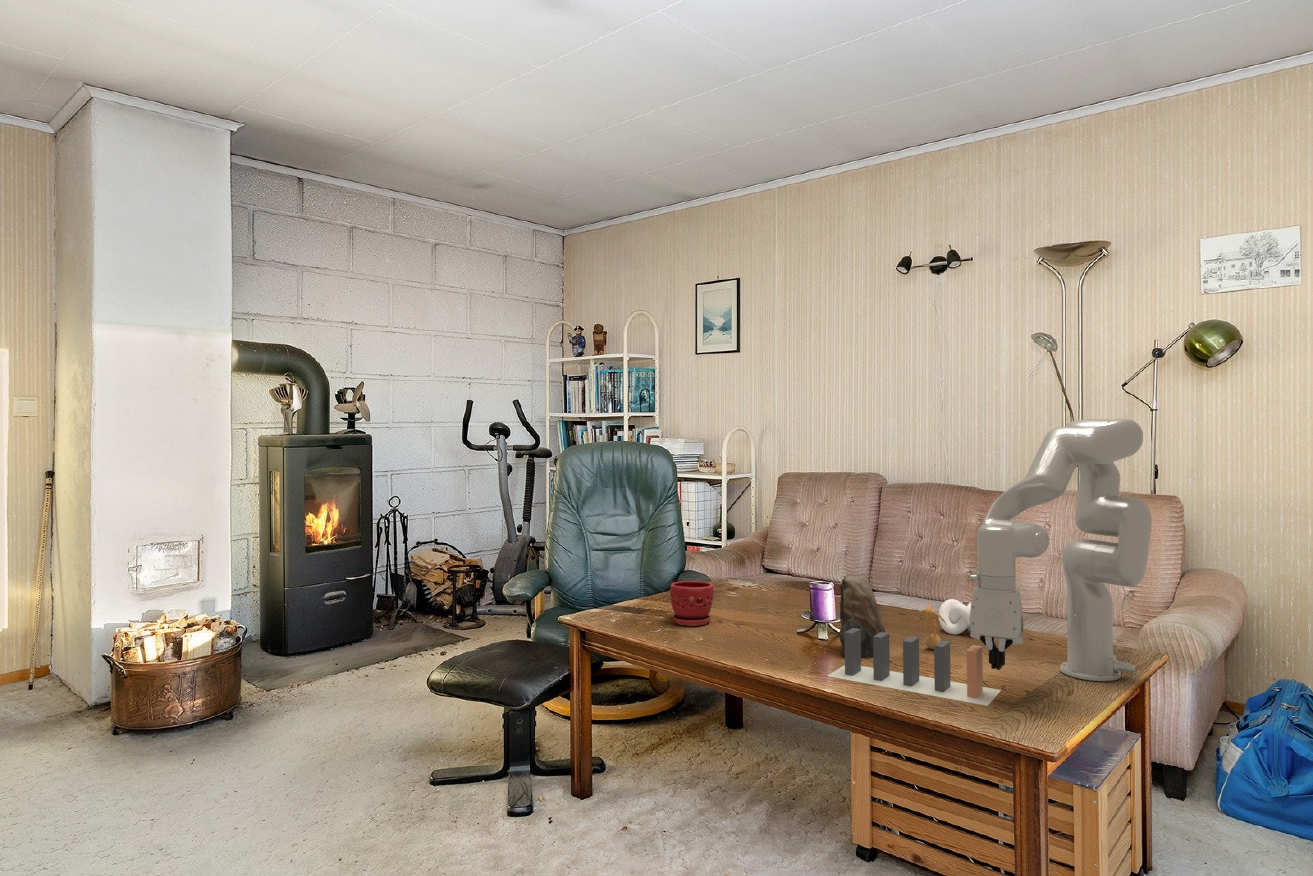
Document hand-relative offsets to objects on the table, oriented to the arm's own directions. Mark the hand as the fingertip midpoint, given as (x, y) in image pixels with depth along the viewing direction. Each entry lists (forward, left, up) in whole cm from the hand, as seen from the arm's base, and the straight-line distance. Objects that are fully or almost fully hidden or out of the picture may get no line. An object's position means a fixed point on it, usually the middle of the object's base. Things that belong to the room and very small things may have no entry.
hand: (996, 667), depth 172 cm
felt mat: (+18, 0, -7) cm, 20 cm away
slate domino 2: (+25, 0, -7) cm, 26 cm away
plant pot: (+92, -21, -7) cm, 95 cm away
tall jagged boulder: (+36, -17, -7) cm, 41 cm away
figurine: (+23, -31, -7) cm, 40 cm away
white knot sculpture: (+22, -53, -7) cm, 58 cm away
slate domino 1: (+32, 0, -7) cm, 33 cm away
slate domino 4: (+11, 0, -7) cm, 13 cm away
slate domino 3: (+18, 0, -7) cm, 20 cm away
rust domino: (+5, 0, -7) cm, 8 cm away
